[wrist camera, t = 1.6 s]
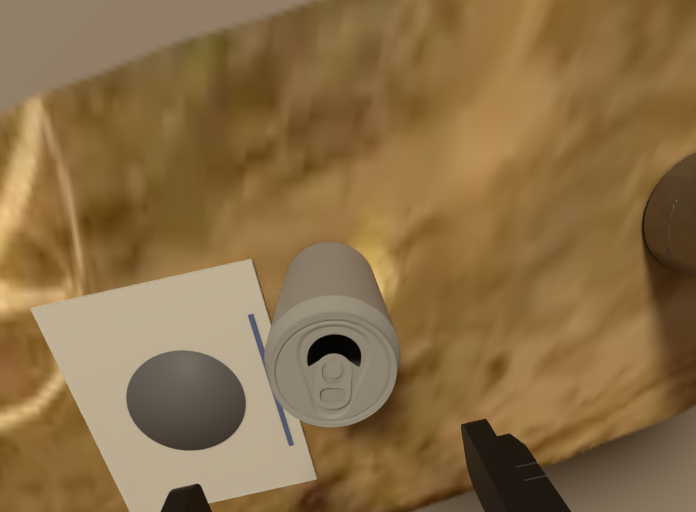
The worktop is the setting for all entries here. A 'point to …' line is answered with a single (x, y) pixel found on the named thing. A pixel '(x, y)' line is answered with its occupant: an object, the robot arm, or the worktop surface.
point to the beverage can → (331, 339)
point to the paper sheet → (179, 385)
